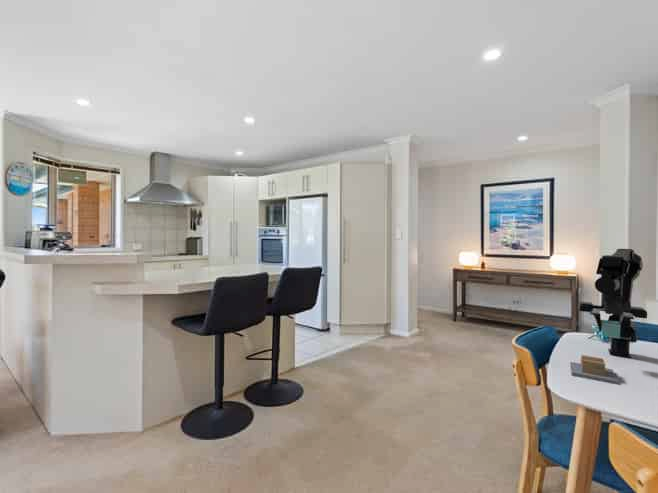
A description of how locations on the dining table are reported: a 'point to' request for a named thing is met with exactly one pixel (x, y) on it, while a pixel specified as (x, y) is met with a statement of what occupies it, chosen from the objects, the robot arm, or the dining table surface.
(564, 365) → the dining table surface
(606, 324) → the teal cube
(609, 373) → the slate board
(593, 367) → the walnut base block
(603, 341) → the stick construction toy
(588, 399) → the dining table surface
